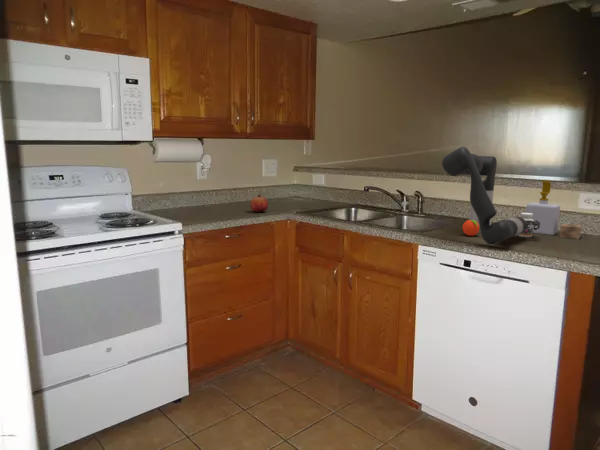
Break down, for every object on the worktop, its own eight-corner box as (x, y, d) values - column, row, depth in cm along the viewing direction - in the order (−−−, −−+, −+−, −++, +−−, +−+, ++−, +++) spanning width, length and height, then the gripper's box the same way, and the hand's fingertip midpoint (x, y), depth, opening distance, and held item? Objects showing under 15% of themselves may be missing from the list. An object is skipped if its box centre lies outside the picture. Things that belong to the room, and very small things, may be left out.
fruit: (272, 212, 256) (271, 194, 254) (259, 214, 249) (258, 196, 247) (259, 210, 264) (259, 193, 262) (246, 212, 256) (246, 194, 255)
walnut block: (559, 237, 190) (560, 225, 189) (561, 234, 195) (562, 223, 194) (578, 239, 186) (580, 227, 185) (580, 236, 191) (581, 225, 190)
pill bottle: (515, 236, 192) (517, 213, 190) (520, 234, 196) (522, 211, 194) (529, 238, 188) (531, 214, 186) (534, 236, 192) (536, 213, 190)
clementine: (483, 237, 189) (485, 221, 188) (469, 238, 188) (470, 221, 187) (472, 233, 197) (474, 217, 196) (458, 234, 196) (459, 218, 194)
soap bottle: (523, 231, 202) (528, 179, 197) (528, 229, 206) (533, 179, 202) (553, 235, 193) (559, 181, 189) (557, 233, 198) (563, 180, 194)
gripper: (532, 219, 175) (547, 215, 187) (496, 215, 185) (511, 211, 197) (531, 238, 177) (545, 232, 188) (494, 233, 187) (510, 227, 198)
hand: (528, 221), depth 193 cm, fingers open, 6 cm apart
